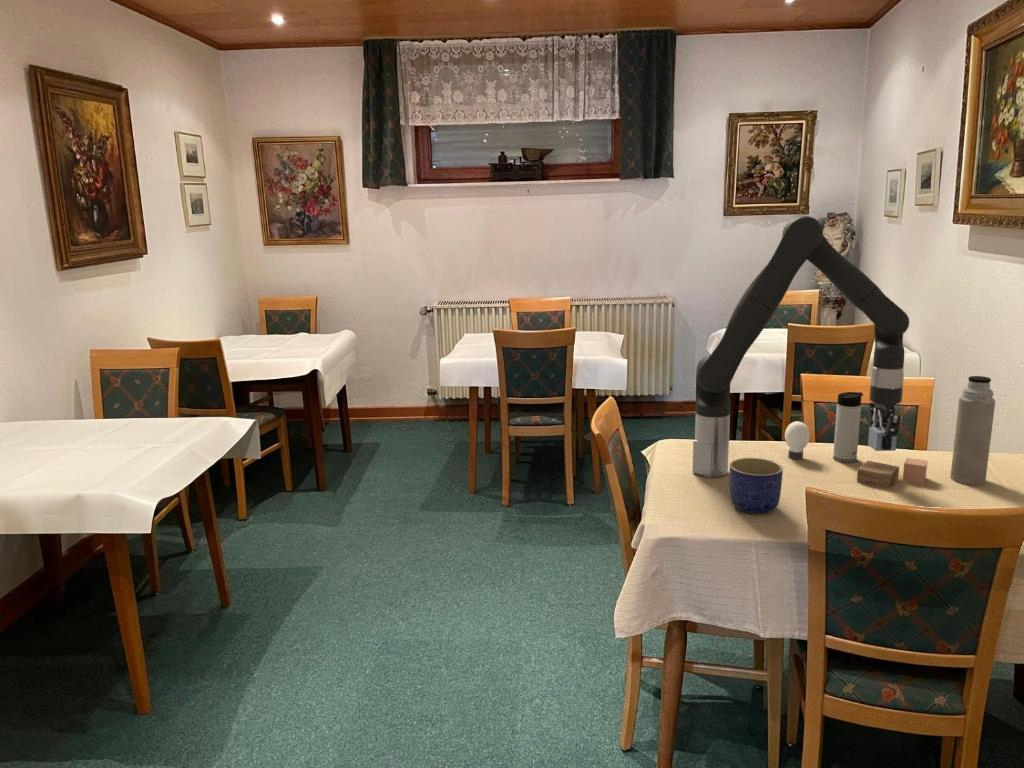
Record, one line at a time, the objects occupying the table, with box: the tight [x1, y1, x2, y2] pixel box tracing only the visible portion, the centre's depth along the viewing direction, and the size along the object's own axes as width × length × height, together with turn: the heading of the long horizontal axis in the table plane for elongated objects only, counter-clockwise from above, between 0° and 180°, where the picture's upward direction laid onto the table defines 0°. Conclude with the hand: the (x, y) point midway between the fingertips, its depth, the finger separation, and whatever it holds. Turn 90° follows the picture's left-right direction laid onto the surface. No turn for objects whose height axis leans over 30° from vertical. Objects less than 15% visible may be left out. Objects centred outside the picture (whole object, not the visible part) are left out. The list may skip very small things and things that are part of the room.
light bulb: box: [784, 420, 811, 460], centre depth 216 cm, size 7×7×11 cm
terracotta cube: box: [902, 457, 928, 485], centre depth 197 cm, size 5×5×5 cm
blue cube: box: [867, 426, 898, 452], centre depth 194 cm, size 5×5×5 cm
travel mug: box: [832, 391, 864, 464], centre depth 212 cm, size 6×7×20 cm
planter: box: [729, 457, 784, 515], centre depth 182 cm, size 12×12×11 cm
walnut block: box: [856, 460, 900, 489], centre depth 197 cm, size 8×8×4 cm
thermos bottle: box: [949, 375, 996, 486], centre depth 192 cm, size 8×8×28 cm
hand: (881, 445), depth 194 cm, fingers closed on blue cube, 5 cm apart
